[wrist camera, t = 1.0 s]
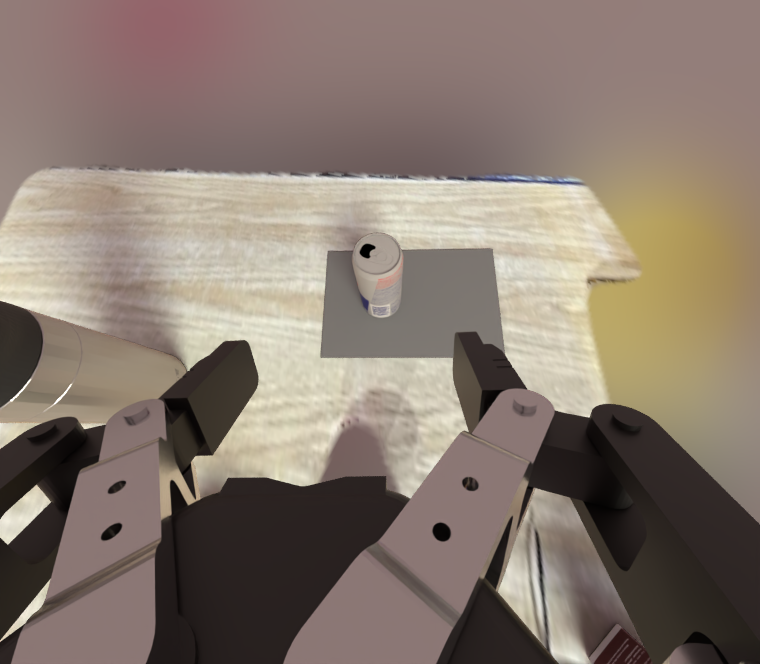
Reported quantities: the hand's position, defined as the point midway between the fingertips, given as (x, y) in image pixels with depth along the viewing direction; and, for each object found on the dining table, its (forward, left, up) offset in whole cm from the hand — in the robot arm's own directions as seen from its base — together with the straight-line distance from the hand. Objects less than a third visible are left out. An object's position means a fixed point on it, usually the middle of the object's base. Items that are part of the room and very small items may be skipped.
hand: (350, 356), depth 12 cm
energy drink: (0, +14, -27) cm, 31 cm away
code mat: (+4, +14, -27) cm, 31 cm away
